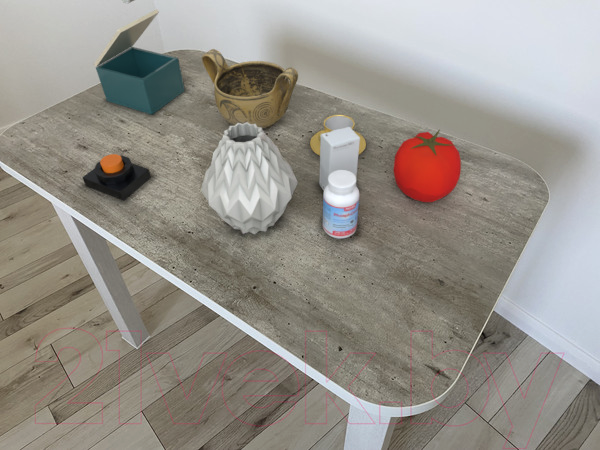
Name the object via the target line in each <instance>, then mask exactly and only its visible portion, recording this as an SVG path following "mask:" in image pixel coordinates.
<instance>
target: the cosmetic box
mask: <svg viewBox="0 0 600 450" xmlns="http://www.w3.org/2000/svg"><path fill="white" fill-rule="evenodd" d="M354 131H355V130H354ZM354 131H353V130H352V129H351V127H346V128H343V129H337V130H333V131H331V132H328V133H324V134H321V139H320V156H319V183H318V185H319V186H320V188H321V189H322V190H323V191H324V189H325V187H326V186H327V185H328V177H329V175H330V174H331V173H332V172H334V171H337V170H347V171H350V172H352V173H353V174H354V175H355V176H356V177H357V175H358V165H359V155H360V154H359V144H360V137H359V136H358V135H357V134H356V133H355V132H354Z"/></svg>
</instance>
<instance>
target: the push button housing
mask: <svg viewBox="0 0 600 450" xmlns="http://www.w3.org/2000/svg"><path fill="white" fill-rule="evenodd" d="M119 155H120V154H119ZM120 156H121V158H122V161H123V164H124V167H123V169H121V170H120V171H118V172H115V173H105V172H104V171H103V169H102V166H101V164H100V161H98V162H96V164H95V166H94V168H92V170H90V171H89V172H87V173H86V174H85V175H83V176H82V177H81V178H82V180H83V183H84V185H85V187H87V188H90V189H92V190H95V191H97V192H100V193H103V194H105V195H108V196H110V197H112V198H116V199H118V200H120V201H123V202H124V201H125V200H127V199H128V198H129V197H130V196H131V195H133V194H134V193H135V192H136V191H137V190H138V189H139V188H141V187H142V186H143V185H144V184H145V183H147V182H148V181H149V180H150V179H151V178H152V176H151V172H150V169H149V168H147V167H145V166H141V165H138V164H136V163H133V162H132V160H131V159H130V158H129V157H128V156H126V155H125V156H124V155H122V154H121V155H120Z"/></svg>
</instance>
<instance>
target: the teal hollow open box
mask: <svg viewBox="0 0 600 450" xmlns="http://www.w3.org/2000/svg"><path fill="white" fill-rule="evenodd" d="M95 69H96V73H97V76H98V79H99V82H100V86H101V88H102V91H103V95H104V97H105V99H106V102H109V103H113V104H116V105H119V106H121V107H126V108H129V109H132V110H136V111H139V112H142V113H145V114H149V115H154V114H155V113H157V112H158V111H159V110H161V109H163V108H164V107H165V106H166V105H168V104H169V103H171V102H172V101H173V100H174V99H176V98H177V97H179V96H180V95H181V94H183V93H184V92H185V91H186V89H185V84H184V80H183V75H182V70H181V65H180V61H179V57H177V56H172V55H168V54H164V53H161V52H160V53H159V52H156V51H152V50H147V49H143V48H140V47H135V46H132V47H130V48H129V49H127V50H125V51H123V52H122V53H120V54H118V55H116V56H115V57H113V58H111V59H109V60H108V61H106V62H104V63H102V64H101V65H99V66H97V67H96V66H95Z"/></svg>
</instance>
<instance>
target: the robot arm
mask: <svg viewBox="0 0 600 450" xmlns="http://www.w3.org/2000/svg"><path fill="white" fill-rule="evenodd" d="M121 1H122V3H123V4H127V5H129V4H130V3H132V2H134V1H135V0H121Z"/></svg>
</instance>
